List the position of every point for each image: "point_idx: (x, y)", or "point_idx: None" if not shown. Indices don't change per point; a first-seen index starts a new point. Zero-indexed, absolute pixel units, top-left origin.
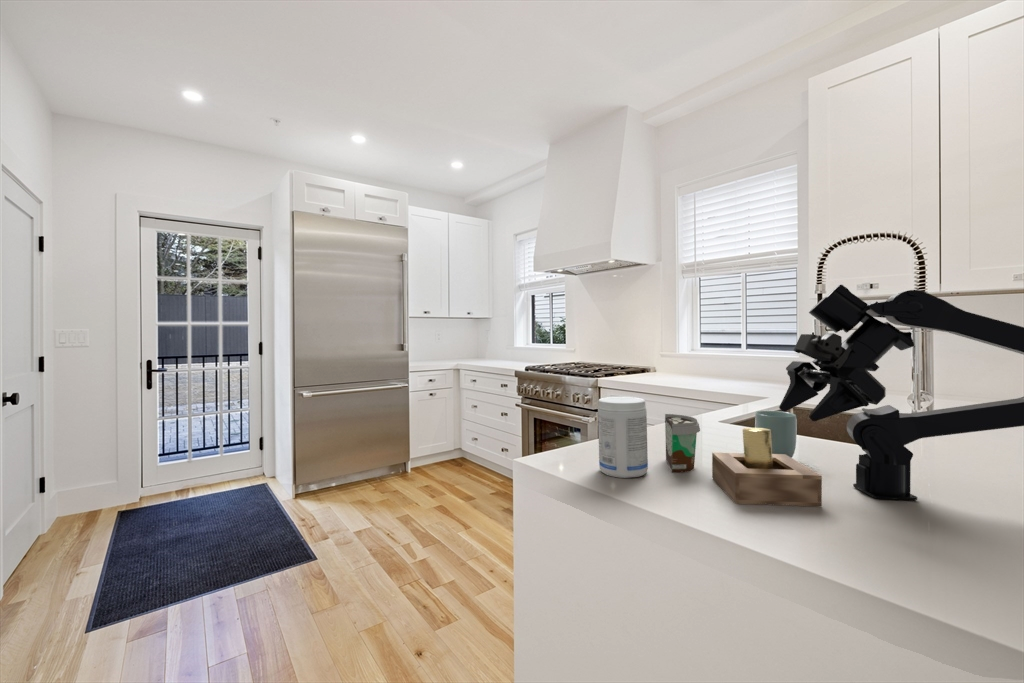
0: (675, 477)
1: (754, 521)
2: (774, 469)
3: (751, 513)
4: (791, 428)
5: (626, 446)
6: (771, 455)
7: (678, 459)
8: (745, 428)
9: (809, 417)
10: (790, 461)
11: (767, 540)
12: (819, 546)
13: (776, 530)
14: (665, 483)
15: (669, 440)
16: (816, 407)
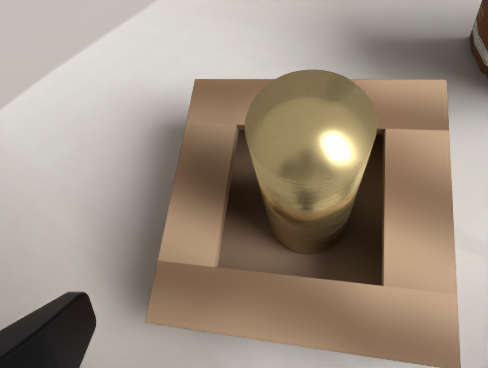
0: (419, 39)
1: (122, 125)
2: (223, 201)
3: (160, 135)
4: None
5: None
6: (271, 206)
7: (482, 20)
8: (362, 93)
9: (79, 292)
10: (326, 318)
11: (48, 115)
12: (11, 188)
13: (79, 147)
14: (361, 11)
15: None
16: (6, 338)
